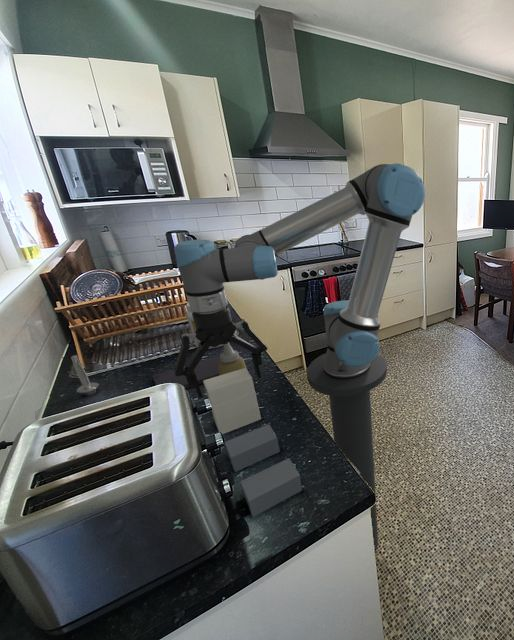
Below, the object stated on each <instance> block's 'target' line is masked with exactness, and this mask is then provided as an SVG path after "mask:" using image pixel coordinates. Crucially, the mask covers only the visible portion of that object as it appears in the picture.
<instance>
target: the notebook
mask: <svg viewBox="0 0 514 640" xmlns="http://www.w3.org/2000/svg"><path fill="white" fill-rule="evenodd" d="M220 361H221V360H220V354H219V355H217V356H213V357H210V358H209V357H208V358H206V359H203V360H202V359H201V360H200V361H199V363H198V364H197V366H196V368H195V369H194V371H195V374H196V377H197V380H198V383H199V385H202V384H204V382H203V380H207V379H210V378H213V377H217V376H219V370H218V363H219V362H220ZM186 365H187V364H186ZM186 365H184V368H185V366H186ZM152 379H153V382H154V384H155V386H156V385H158V384H163V383H169V382H171V383H179V384H182V385H183V386H184V387H185V388H186V389H185V390H187V389H190V388H193V387H194V386H192V387H190V386H189V384H188V381H187V378H186V376H184V375H181V376H176V375H175V372H174V368H172V369H169V370H165V371H162V372H159V373H155V374H153V375H152Z"/></svg>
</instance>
